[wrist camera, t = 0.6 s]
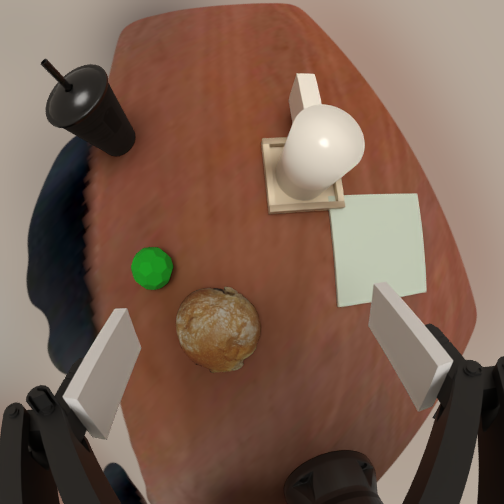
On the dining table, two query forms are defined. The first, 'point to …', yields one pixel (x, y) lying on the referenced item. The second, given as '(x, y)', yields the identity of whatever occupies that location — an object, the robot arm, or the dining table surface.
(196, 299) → the bread roll
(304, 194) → the white cylinder with tab
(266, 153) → the holder
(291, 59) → the dining table surface
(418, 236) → the plate
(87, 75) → the drinking cup
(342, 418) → the dining table surface
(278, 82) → the dining table surface
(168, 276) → the polyhedron
